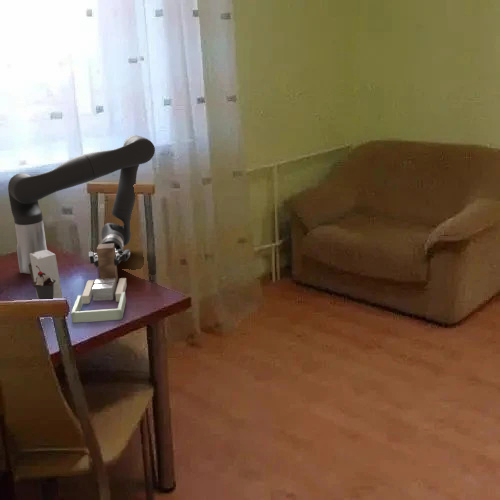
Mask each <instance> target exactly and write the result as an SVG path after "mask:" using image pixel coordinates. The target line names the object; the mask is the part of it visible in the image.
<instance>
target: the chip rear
mask: <svg viewBox="0 0 500 500" xmlns="http://www.w3.org/2000/svg"><path fill="white" fill-rule="evenodd" d="M111 283H114V289H115V293H116V290H117V283H116V280H115V278H104V279H100V278H96V279H94V284H111Z"/></svg>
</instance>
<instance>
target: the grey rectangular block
mask: <svg viewBox="0 0 500 500" xmlns="http://www.w3.org/2000/svg"><path fill="white" fill-rule="evenodd" d="M115 293H116V292H115V289H114V283H111V284H94V286H93V288H92V294H93V295H92V301H93V302H95V301H99V302H100V301H113V300H114V299H115V298H116V295H115Z"/></svg>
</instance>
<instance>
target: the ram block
mask: <svg viewBox="0 0 500 500" xmlns="http://www.w3.org/2000/svg"><path fill="white" fill-rule="evenodd" d="M96 253H97V255H98V264H99V267H98V271H99V273H98V274H99V279H104V278H115V280H116V284H118V283H117V282H118V280H119V275H118V267H117V266H118V265H117V266H115V263H114V258H115V246H114V243H111V244H101V243H98V245H97V247H96Z"/></svg>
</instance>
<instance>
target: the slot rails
mask: <svg viewBox="0 0 500 500" xmlns="http://www.w3.org/2000/svg"><path fill="white" fill-rule="evenodd" d="M94 282H95V279H88V280H87V281H86V284H85V287H84V290H83V292H82V294H81V296H82V305H85V304H86V305H88V304H90V303H91V300H92V299H93V294H92V288H93V286H94ZM117 282H118V283H117V285H116V292H115V302H118V303H119V301H120V297H121V293H122V292H125V293H126V289H127V285H128V284H127V278H126V277H121V278H118V281H117Z"/></svg>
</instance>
